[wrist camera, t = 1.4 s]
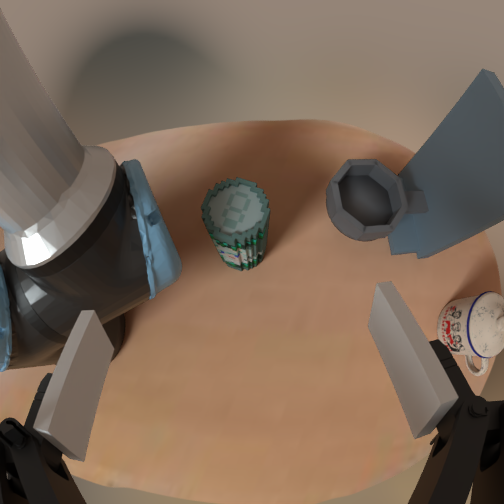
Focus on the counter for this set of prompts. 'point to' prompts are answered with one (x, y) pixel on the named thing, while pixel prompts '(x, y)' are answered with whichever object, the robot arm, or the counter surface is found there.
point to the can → (237, 222)
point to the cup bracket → (431, 182)
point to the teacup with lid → (473, 328)
